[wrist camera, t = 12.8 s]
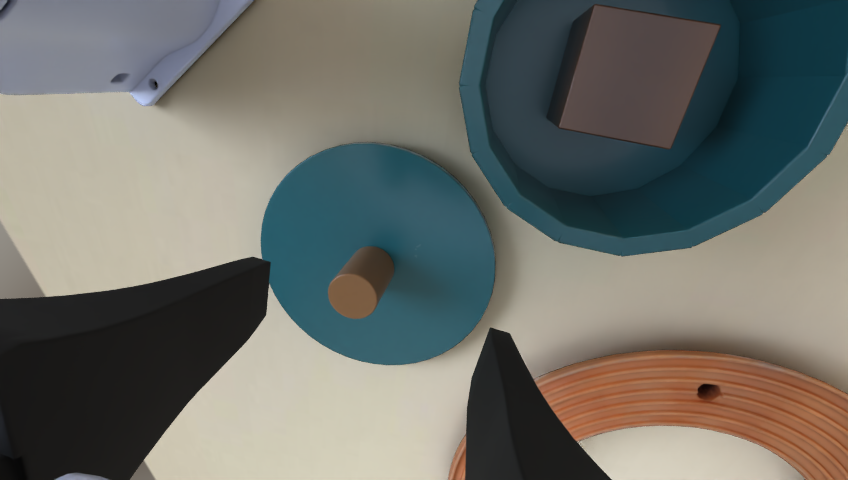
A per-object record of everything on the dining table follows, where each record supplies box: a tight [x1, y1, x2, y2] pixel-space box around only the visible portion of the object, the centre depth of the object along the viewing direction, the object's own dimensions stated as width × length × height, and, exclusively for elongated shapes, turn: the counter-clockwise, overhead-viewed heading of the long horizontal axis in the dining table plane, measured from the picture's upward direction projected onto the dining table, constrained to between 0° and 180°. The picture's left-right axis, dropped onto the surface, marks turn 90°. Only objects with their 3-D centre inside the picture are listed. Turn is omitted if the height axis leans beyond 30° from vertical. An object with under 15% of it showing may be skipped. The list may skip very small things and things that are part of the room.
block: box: [547, 4, 721, 150], centre depth 16 cm, size 4×4×4 cm
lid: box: [261, 142, 495, 365], centre depth 21 cm, size 13×13×4 cm
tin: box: [459, 0, 848, 256], centre depth 15 cm, size 11×11×6 cm
